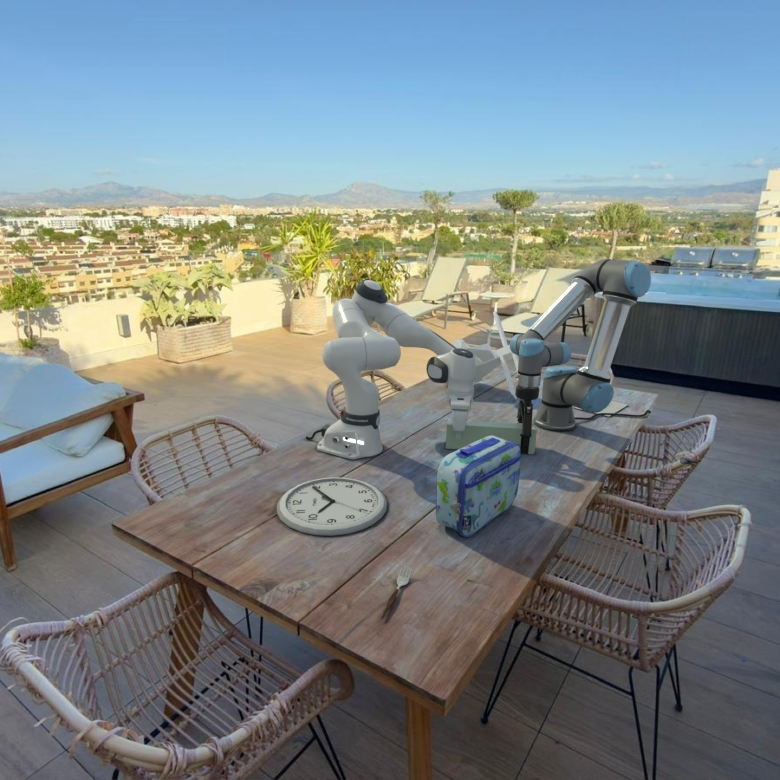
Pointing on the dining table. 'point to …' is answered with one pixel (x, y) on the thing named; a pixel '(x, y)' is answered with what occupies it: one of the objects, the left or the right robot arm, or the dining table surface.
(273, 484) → the dining table surface
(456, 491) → the lunch box
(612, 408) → the invitation card
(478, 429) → the sage box
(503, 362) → the white plastic object
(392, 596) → the fork
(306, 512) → the wall clock
